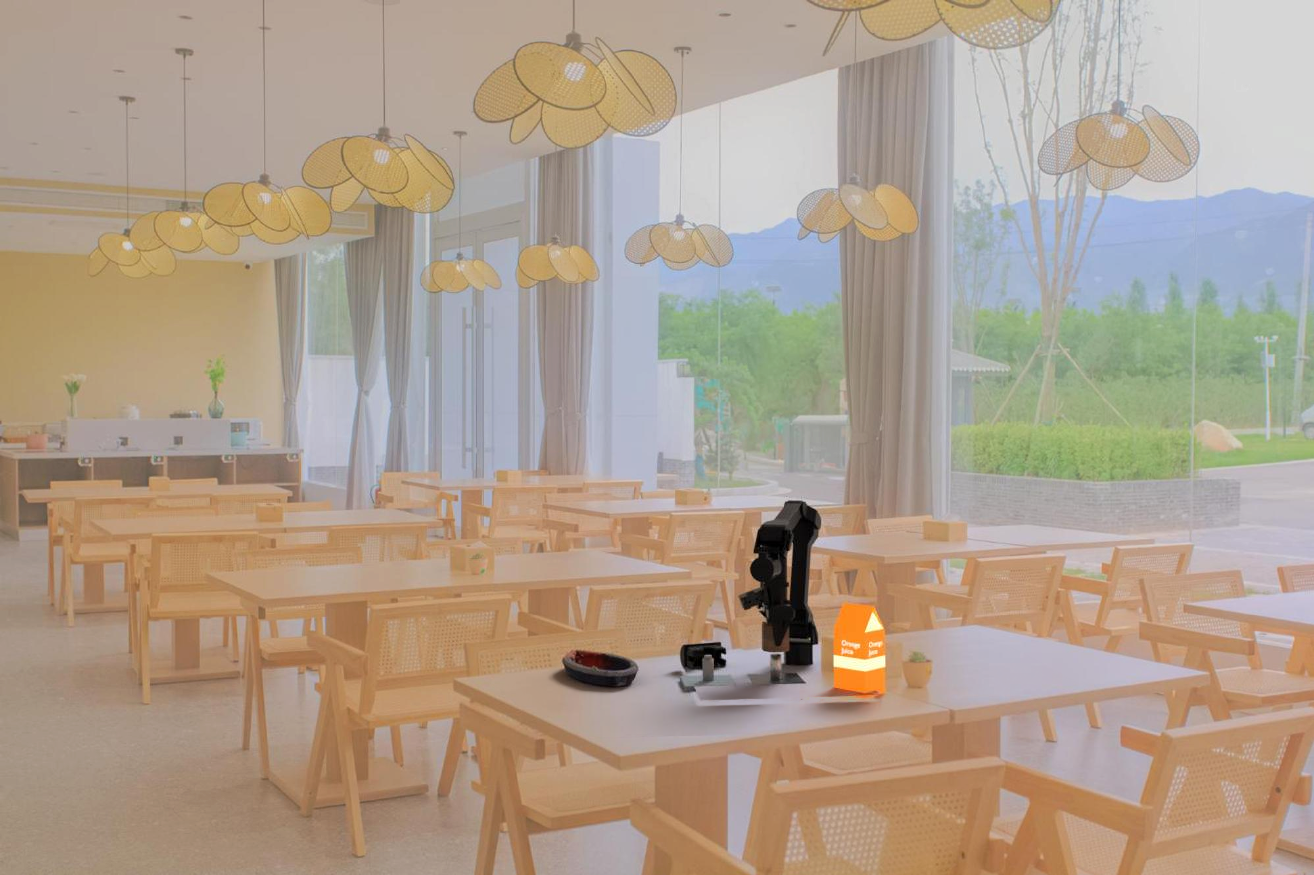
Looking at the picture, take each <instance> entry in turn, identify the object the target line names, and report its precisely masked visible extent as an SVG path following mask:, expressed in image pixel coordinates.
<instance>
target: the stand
mask: <svg viewBox="0 0 1314 875" xmlns="http://www.w3.org/2000/svg"><path fill="white" fill-rule="evenodd" d="M769 659H770V660H769V662H770V666H769V667H770V670H769V671H770V673H747V674H746V675H747V677H748V678H749V680H750V681H751V682H752V683H753V685H755V686H759V685H766V686H767V685H796V684H797V685H798V684H807V682H806V681H805V680H804V679H803V678H802V677H801V676H800V675H799V674H798V673H797V672H789V673H788V672H787V673H786V672H783V673H782V671H783V670H782V654H780V653H771V654H770V655H769Z"/></svg>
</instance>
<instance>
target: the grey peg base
mask: <svg viewBox="0 0 1314 875" xmlns="http://www.w3.org/2000/svg"><path fill="white" fill-rule="evenodd" d="M702 662H703V669H702V675H697V674H696V675H680V676H679V677H680V678H679V682H680V683H681V686H682V688H683V690H684V692H697V690H696V688H695V687H714V686H715V687H717V686H718V687H719V686H720V687H723V686H738V684H737V682H736V681H735V679H734V678H733V676H732V675H731V674H715V673H714V672H715V668H714V659H713V658H712V655H704V658H703V659H702Z"/></svg>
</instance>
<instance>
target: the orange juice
mask: <svg viewBox="0 0 1314 875" xmlns="http://www.w3.org/2000/svg"><path fill="white" fill-rule="evenodd" d="M885 633H886V629H885V628H884V625H883V623H882V621H881V619H880V617H879V615H878V613H877V610H876V607H875V606H872V605H867V604H866V605H864V604H856V603H850V602H849V603H848V602H843V603H842V606H841V609H840V612H839V614H838V617H837V618H836V622H835V624H834V627H833V688H835V689H836V688H837V689H841V690H847V691H853V692H857V693H863V695H854V697H856V698H859V699H868V698H871V697H876V696H878V694H880V695H883V694H886V634H885ZM875 691H876V692H878V694H871V695H869V694H867V693H871V692H875ZM864 694H865V695H864ZM866 694H867V695H866Z"/></svg>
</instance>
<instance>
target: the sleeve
mask: <svg viewBox="0 0 1314 875" xmlns="http://www.w3.org/2000/svg"><path fill="white" fill-rule="evenodd" d="M761 650H762V651H763V652H768V653H784V652H786V651H789V627H788V629H787V632H786V634H785V636H784V639H783V641H782V643H781V646H776V645H775V641H774V635H773V629H772V624H771V623H767V622H766V621H762V623H761Z"/></svg>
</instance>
